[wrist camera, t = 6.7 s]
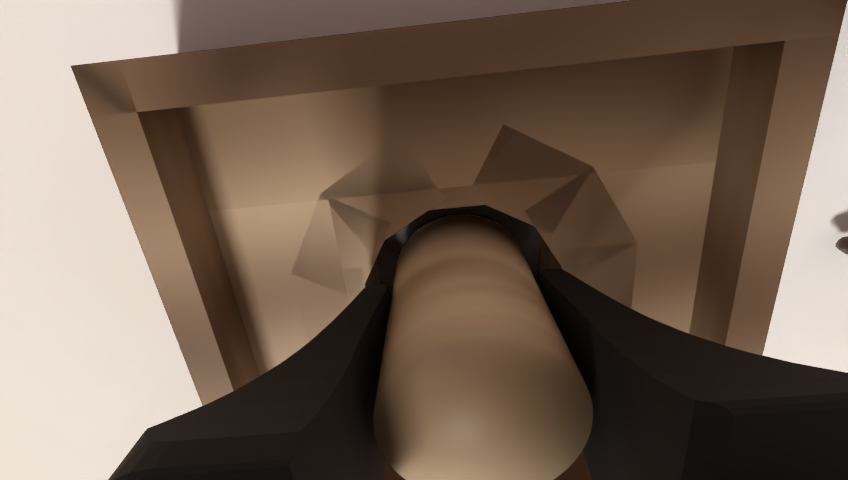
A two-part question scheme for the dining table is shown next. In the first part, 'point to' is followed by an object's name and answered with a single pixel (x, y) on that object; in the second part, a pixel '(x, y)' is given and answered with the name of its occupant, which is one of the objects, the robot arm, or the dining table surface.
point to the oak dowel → (475, 363)
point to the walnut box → (471, 163)
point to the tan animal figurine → (843, 244)
